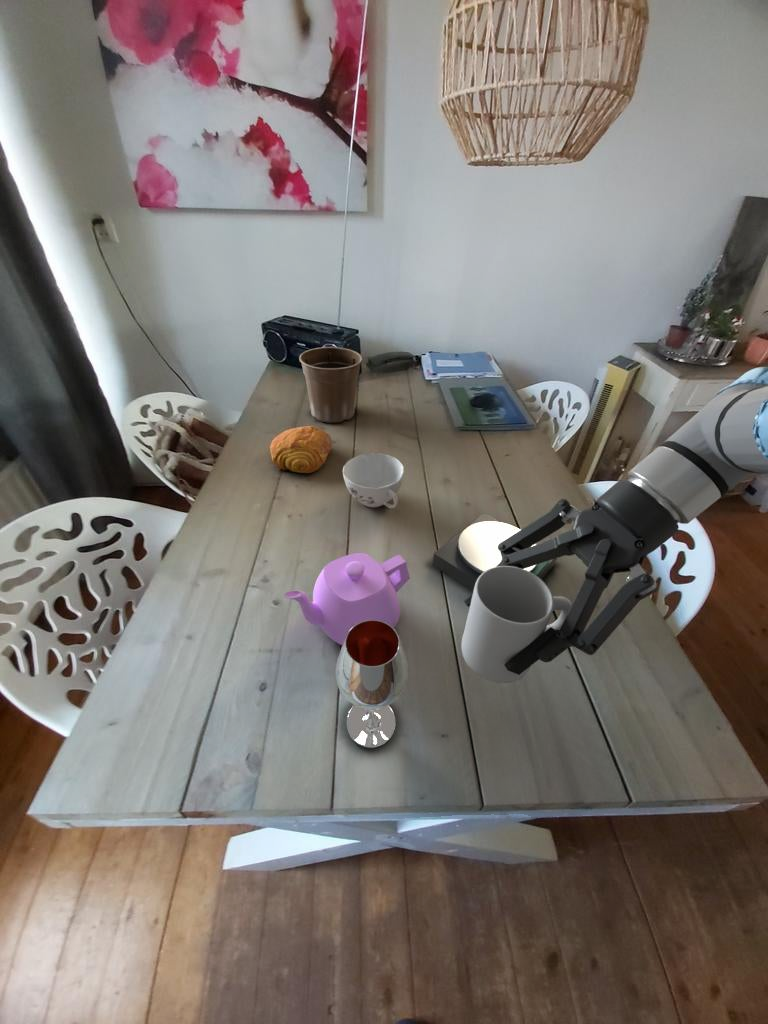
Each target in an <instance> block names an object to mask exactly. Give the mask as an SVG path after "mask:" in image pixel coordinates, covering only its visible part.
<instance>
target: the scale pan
mask: <svg viewBox="0 0 768 1024" xmlns="http://www.w3.org/2000/svg"><path fill="white" fill-rule="evenodd" d="M466 527H467V526H466ZM466 527H465V528H466ZM465 528H464V529H465ZM520 530H521V528H519V527H517V526H514V525H512V524H509V523H505V522H502V521H500V522H495V521H485V522H479V523H475V524H473V525H471V526H469V527H467V528H466V529H465V530H464V531H463V532H462V533H461V535H460V537H459V541H458V550H459V553H460V555H461V557H462V559H463V560H464V562H465V563H466V564H467V565H468V566H470V567H471V568H472V569H473V570H475V571H477V572H478V573H480V574H482V573H483V572H485V571H486V570H488V569H490V568H493V567H496V566H497V565H498V564H499V563H500V562H501V560H502V556H501V553H500V551H499V550H498V545H499V544H500V543H501V542H503V541H504V540H506V539H507V538H509V537H510V536H512V535H514V534H515V533H517V532H518V531H520ZM535 545H536V544H534V545H532V546H535ZM532 546H531V547H532ZM536 566H537V565H534V566H531V567H528V568H525V569H524V570H527V571H529V572H532V571H533V570H534V569H535V568H536Z"/></svg>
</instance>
